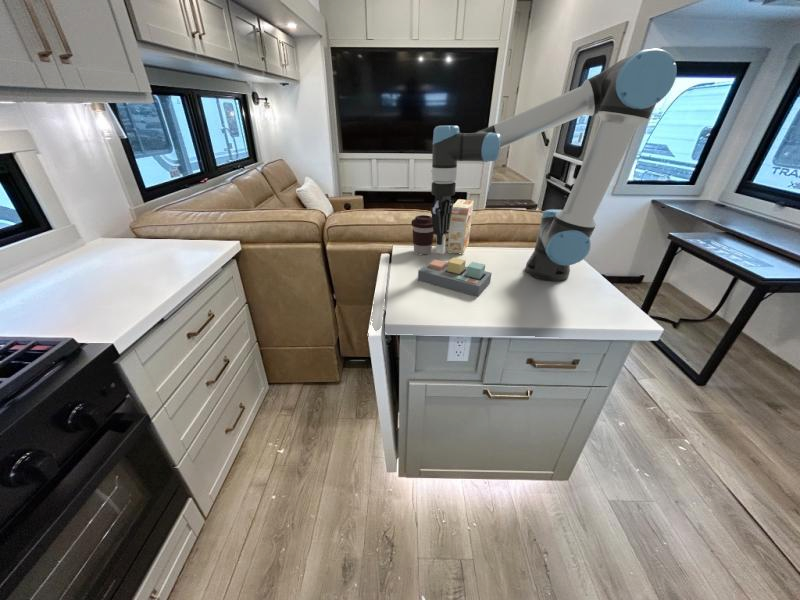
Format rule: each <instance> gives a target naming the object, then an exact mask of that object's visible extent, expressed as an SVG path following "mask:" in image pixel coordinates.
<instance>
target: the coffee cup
mask: <svg viewBox="0 0 800 600" xmlns="http://www.w3.org/2000/svg"><path fill="white" fill-rule="evenodd" d="M410 223H411V226H412V243H413V252H414V253H415V254H416V253H417V254H416V255H419V254H427V255H429V254H430V253H432V247H433V242H434V235H435V234H433V223H432V215H426V214H423V215H417V216H415V218H414V219H412V220H411V222H410Z"/></svg>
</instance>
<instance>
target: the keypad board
mask: <svg viewBox="0 0 800 600" xmlns="http://www.w3.org/2000/svg"><path fill="white" fill-rule="evenodd" d="M434 260H436V259H435V258H434V259H432V260H431V261H429V262H428V263H427V264H425V265H424V266H423V267H421V268H420V269H418V271H417V273H418V274H417V275H418V276H417V281H418V282H420V283H424V284H429V285H431V286H436V287H439V288H441V289H442V288H443V289H446V290H450V291H454V292H457V293H460V294H464V295H468V296H471V297H475V298H479V297H480V295H481V294H483V292H484V291H485V290H486V289H487V287H488V286H489V285H490V284H491V281H492V274H493V273H492V272H491V271H486V270H485V271H484V275H483V276H482V277H481V278H480V279H477V278H473V277H469V276H466V273H467V266H465V270H464V271H463V272H461V273H460V274H457V273H453V272H448V271H447V268H448V262H447V261H446V262H447V265H446V268H445V269H443V270H442V271H440V270H436V269H432V268H429V264H430V263H431V262H433V261H434ZM438 260H439V259H438ZM439 261H441V260H439ZM442 261H443V262H445V261H444V260H442Z"/></svg>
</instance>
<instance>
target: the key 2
mask: <svg viewBox="0 0 800 600" xmlns="http://www.w3.org/2000/svg"><path fill="white" fill-rule="evenodd" d="M466 267H467V273H466V276H469V277H473V278H477V279H480V278H481V277H482V276H483V275H484V271H486V264H484V263H479V262H476V261H472V262H470V264H468V265H467V266H466Z"/></svg>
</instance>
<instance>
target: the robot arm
mask: <svg viewBox="0 0 800 600" xmlns="http://www.w3.org/2000/svg"><path fill="white" fill-rule="evenodd" d="M677 67H678V66H677V63H676V61H675V59H674V56H673V55H672V54H671V53H670V52H668V51H667V50H664V49H661V48H650V49H648V48H647V49H642V50H640V51H638V52H635V53H634V54H632V55H631V56H628V57H625V58H623V59H621V60H619V61H617V62H616V63H614V64H613V65H611V66H609V67H608V68H606V69H604V70H603V71H601V72H599V73H598V74H596V75H594V76H591V77H589V78H587V79H585V80H584V82H583V83H582V85H580V86H579V87H576V88H574V89H572V90H570V91H567V92H566V93H565V92H564V93H563V94H561V95H558V96H556V97H554V98H552V99H550V100H546V101H544V102H542V103H539V104H538V105H536V106H534V107H531V108H529V109H527V110H525V111H522V112H520V113H518V114H515V115H513V116H511V117H508V118H506V119H503V120H502V121H499V122H498V123H495V124H493V125H491V126H487V127H485V128H483V129H482V130H481V129H480V130H477V131H475V132H471V133H470V132H469V133H467V132H466V133H464V132H461V131H460V127H459V126H458V125H438V126H435V128H434V129H433V137H432V145H431V146H432V157H431V158H432V160H431V161H432V163H431V164H432V165H431V167H432V168H431V171H430V172H431V180H432V182H431V190H430V191H431V195H432V196H434V197H435V199H434V206H433V207H430V213H431V217H432V223H433V234H434V235H435V236H436V240H435V241H436V244H435V247H436V248H435V253H438V254H443V255H444V253H446V239H447V235H449V229H450V220H451V214H452V208H453V205H454V204H455V203H454V201H455V200H451V199H452V197H451V196H454V195H456V186H457V185H456V180H457V172H458V171H457V169H458V168H457V167H458V162H485V163H488V162H496V161H498V159H499V156H500V150H501V149H504V148H507V147H508V146H511V145H513V144H516V143H518V142H521V141H524V140H526V139H528V138H530V137H533V136H535V135H538V134H540V133H543V132H545V131H549V130H550V129H553V128H556V127H558V126H561V125H562V124H565V123H568V122H570V121H573V120H575V119H577V118H579V117H583V116H585V115H587V116H590V117H592V116H594V115H597V114H598V116H599V118H600V122H599V124H598V127H597V129H596V131H595V134H594V136H593V139H592V141H591V143H590V145H589V149H588V151H587V153H586V155H585V157H584V160H583V163H582V164H581V167H580V169H579V171H578V174H577V177H576V178H575V181H574V183H573V185H572V188H571V191H570V193H569V195H568V197H567V200H566V202H565V205H564V207H563V209H545V210H544V211H543V213H542V215H541V218H540V224H539V228H538V233H537V237H536V242H535V247H534V250H533V252H532V254H531V256H530V257H529V259H528V260H527V262H526V263H525V264H526V265H525V268H524V271H525V273H526V274H528V275H529V276H531V277H533V278H536V279H539V280H541V281H548V282H549V281H550V282H562V281H565V280H567V279H568V278H569V276H570V273H571V266H573V265H576V264H577V263H580V262H581V261H583V260H584V259H586V257H587V256H588V254H589V253H590V251H591V240H590V239H591V237H592V235H593V232H594V231H595V229H596V226H597V224H596V221H595V219H594V217H595V215H596V214H597V211H598V209H599V207H600V205H601V203H602V201H603V199H604V197H605V195H606V192H607V190H608V189H609V186H610V184H611V182H612V180H613V178H614V176H615V175H616V172H617V169H618V168H619V165H620V164H621V162H622V160H623V157H624V155H625V153H626V152H627V149H628V146H629V145H630V143H631V140H632V139H633V137H634V134H635V133H636V130H637V128H638V127H639V126H641V125H642V124H645V123H646V122H648V120H649V119H650V117H651V115H652V112H653V111H654V108H655V106H656V105H657V104H658V103H659V102H661V101H662V100H663V99H664V98H665V97H666V96H667V95H668V94H669V92H670V91H671V89H672V88H673V86H674V84H675V82H676V79H677V78H676V77H677V72H678V71H677Z"/></svg>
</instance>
